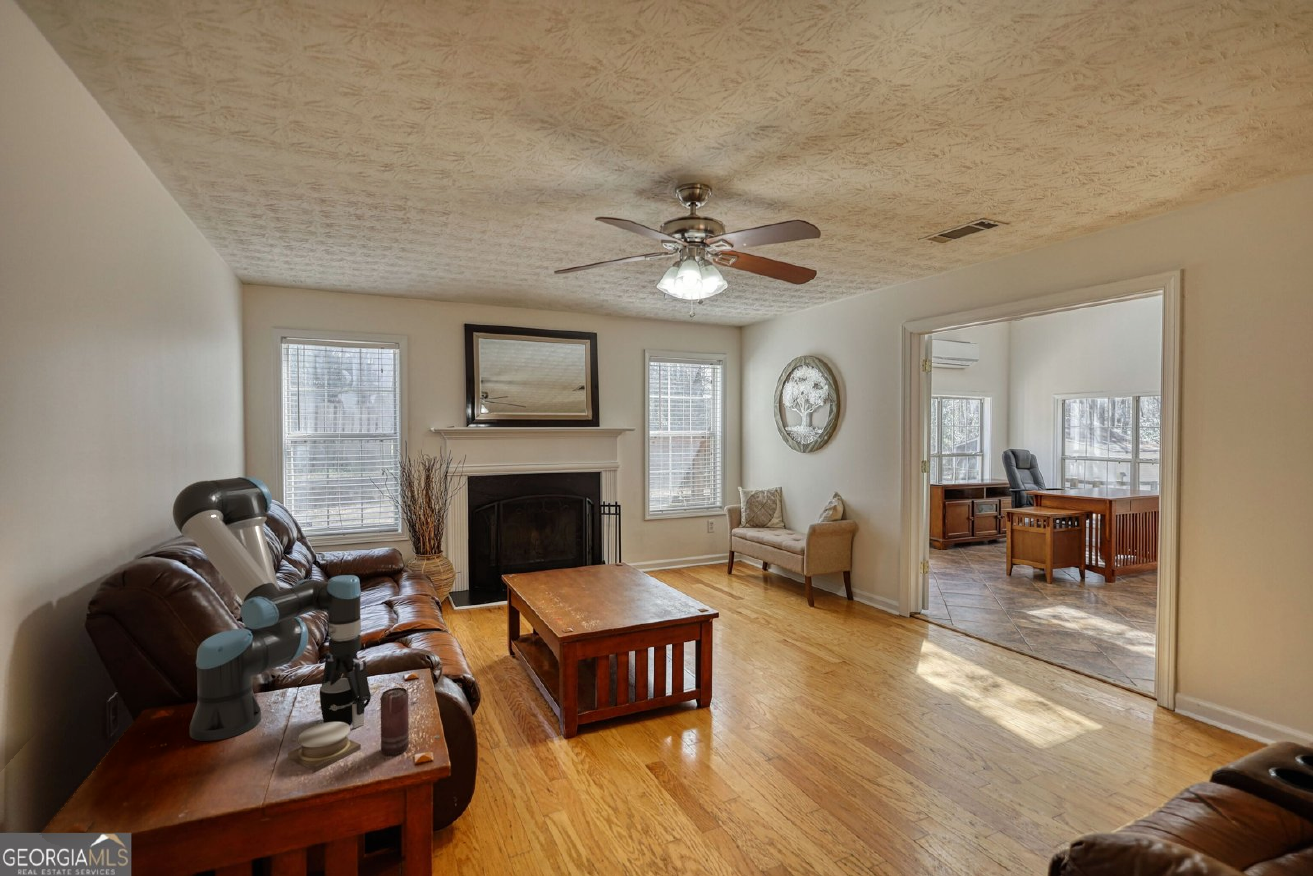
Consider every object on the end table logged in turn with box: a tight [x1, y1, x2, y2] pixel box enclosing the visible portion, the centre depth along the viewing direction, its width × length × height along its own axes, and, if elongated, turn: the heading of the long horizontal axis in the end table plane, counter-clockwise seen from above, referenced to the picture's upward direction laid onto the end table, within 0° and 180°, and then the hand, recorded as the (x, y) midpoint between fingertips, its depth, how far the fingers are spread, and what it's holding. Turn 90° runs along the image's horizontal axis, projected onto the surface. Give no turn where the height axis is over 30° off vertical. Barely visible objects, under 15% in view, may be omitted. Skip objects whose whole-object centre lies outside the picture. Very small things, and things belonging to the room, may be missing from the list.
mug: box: [319, 677, 372, 726], centre depth 163 cm, size 12×9×10 cm
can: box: [380, 687, 410, 757], centre depth 149 cm, size 6×6×14 cm
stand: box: [287, 722, 362, 773], centre depth 148 cm, size 11×11×5 cm
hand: (345, 721), depth 163 cm, fingers open, 10 cm apart
